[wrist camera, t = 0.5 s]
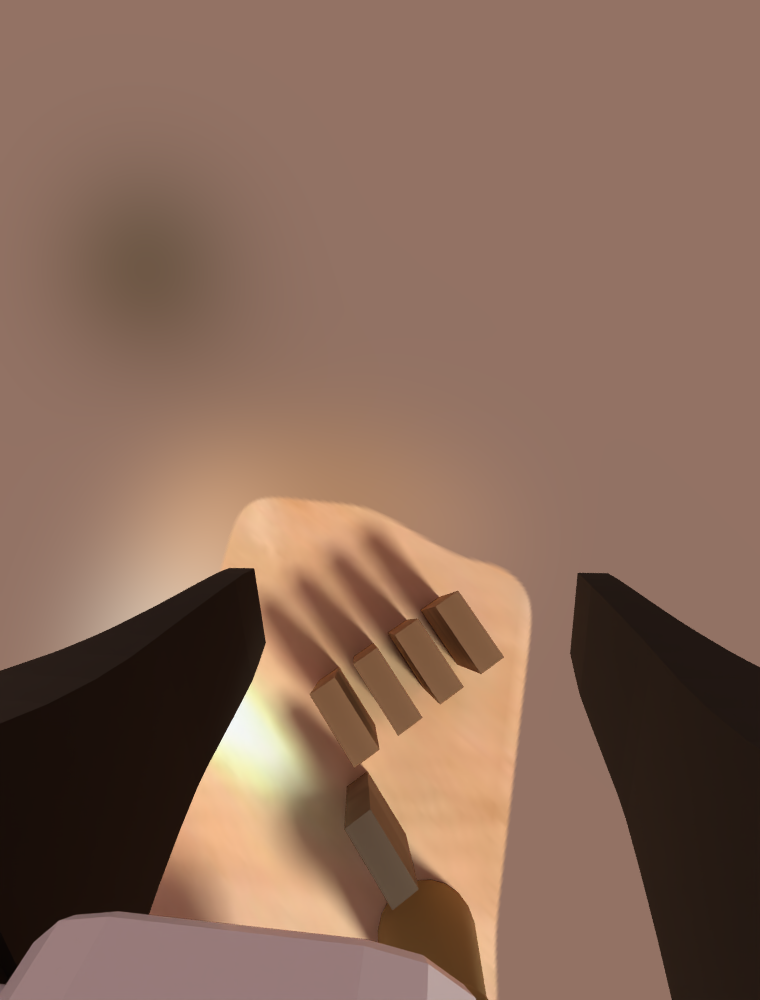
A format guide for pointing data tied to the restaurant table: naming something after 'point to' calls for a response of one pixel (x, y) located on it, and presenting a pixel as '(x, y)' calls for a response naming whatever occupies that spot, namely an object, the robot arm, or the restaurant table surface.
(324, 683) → the tile
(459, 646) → the tile
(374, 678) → the tile
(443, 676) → the tile
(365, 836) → the tile
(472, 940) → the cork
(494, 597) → the restaurant table surface
